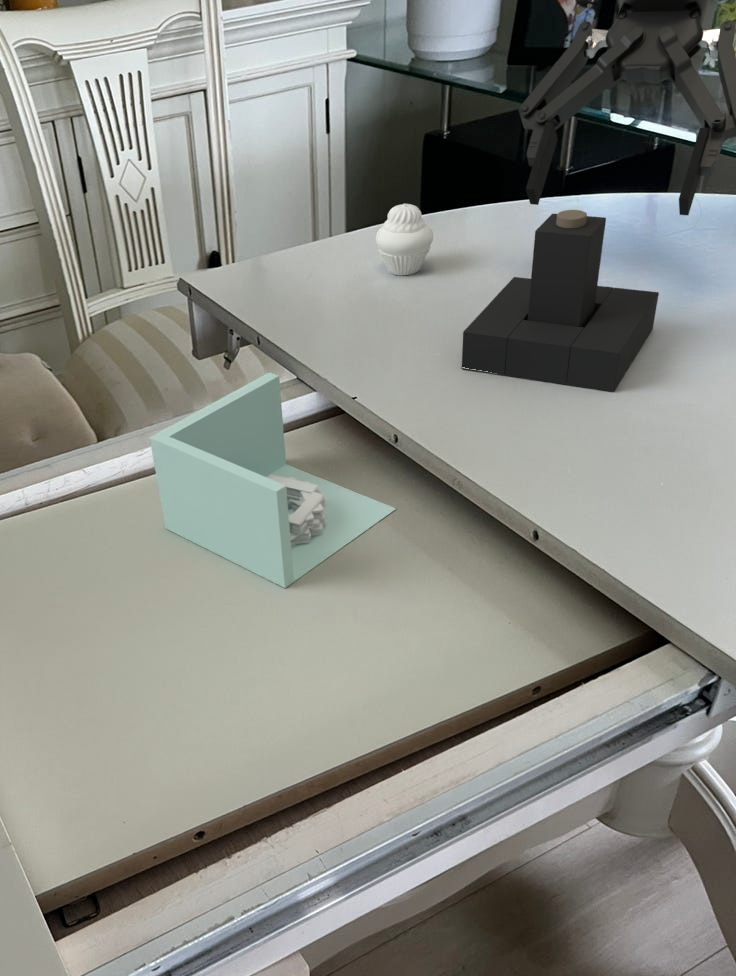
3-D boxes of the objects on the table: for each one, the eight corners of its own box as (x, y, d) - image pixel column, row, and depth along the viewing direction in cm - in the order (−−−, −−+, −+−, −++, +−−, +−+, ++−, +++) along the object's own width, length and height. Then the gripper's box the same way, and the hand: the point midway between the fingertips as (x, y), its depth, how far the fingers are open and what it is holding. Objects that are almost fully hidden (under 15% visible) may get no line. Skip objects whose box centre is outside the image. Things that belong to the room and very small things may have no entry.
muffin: (364, 275, 108) (363, 208, 104) (396, 256, 112) (396, 191, 107) (412, 284, 105) (413, 216, 101) (443, 265, 109) (445, 198, 104)
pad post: (590, 342, 91) (607, 207, 83) (575, 362, 88) (592, 225, 80) (540, 335, 93) (553, 203, 85) (524, 355, 90) (535, 220, 82)
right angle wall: (285, 588, 66) (276, 491, 62) (165, 528, 73) (149, 437, 69) (396, 508, 73) (396, 415, 68) (276, 460, 79) (268, 372, 75)
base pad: (652, 329, 92) (659, 292, 89) (613, 392, 83) (620, 352, 81) (511, 312, 97) (513, 276, 95) (461, 369, 89) (463, 331, 87)
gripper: (530, -47, 93) (465, 171, 93) (828, -58, 82) (754, 188, 82) (542, 9, 100) (482, 212, 100) (819, 5, 89) (751, 233, 89)
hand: (605, 202), depth 91 cm, fingers open, 13 cm apart
